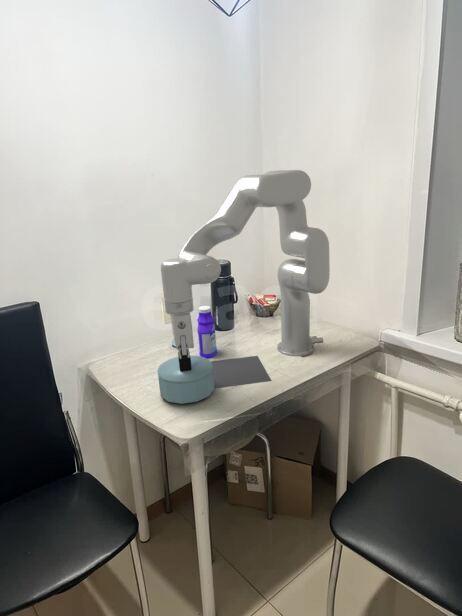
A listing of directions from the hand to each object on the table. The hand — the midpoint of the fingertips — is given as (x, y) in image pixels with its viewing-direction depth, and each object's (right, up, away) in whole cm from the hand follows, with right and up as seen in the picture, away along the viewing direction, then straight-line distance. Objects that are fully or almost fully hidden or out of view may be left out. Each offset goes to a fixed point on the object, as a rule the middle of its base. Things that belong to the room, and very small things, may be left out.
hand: (185, 366), depth 116 cm
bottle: (+5, 0, +27) cm, 27 cm away
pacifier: (-6, +2, +34) cm, 35 cm away
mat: (+15, -4, +13) cm, 20 cm away
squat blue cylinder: (0, -7, +2) cm, 7 cm away
